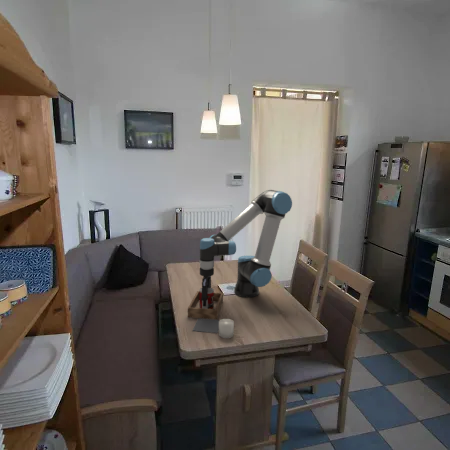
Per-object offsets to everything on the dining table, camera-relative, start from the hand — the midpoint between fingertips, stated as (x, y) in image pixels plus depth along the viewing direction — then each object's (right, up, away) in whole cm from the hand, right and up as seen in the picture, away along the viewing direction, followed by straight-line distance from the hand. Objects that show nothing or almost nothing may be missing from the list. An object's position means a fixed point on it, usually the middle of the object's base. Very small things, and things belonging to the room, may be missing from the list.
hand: (206, 307), depth 172 cm
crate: (0, -1, 0) cm, 1 cm away
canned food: (0, -1, 0) cm, 1 cm away
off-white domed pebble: (+11, -6, -25) cm, 28 cm away
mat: (+1, -4, -18) cm, 18 cm away
